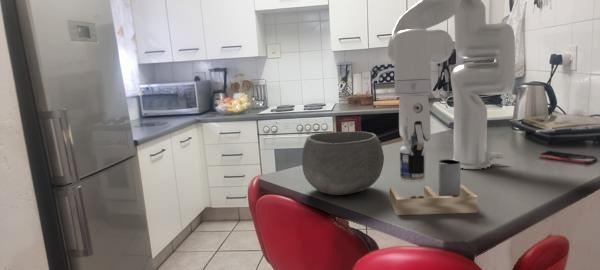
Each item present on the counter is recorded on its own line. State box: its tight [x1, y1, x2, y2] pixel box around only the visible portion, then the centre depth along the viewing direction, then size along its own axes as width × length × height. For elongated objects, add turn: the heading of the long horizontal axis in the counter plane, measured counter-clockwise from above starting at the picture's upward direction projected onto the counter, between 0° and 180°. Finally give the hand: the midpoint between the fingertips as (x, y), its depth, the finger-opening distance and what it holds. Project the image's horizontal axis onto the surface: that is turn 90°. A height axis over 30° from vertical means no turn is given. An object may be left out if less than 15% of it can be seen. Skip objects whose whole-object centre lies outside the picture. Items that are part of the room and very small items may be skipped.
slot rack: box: [389, 184, 479, 216], centre depth 90 cm, size 17×9×4 cm, turn 87°
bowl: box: [301, 131, 385, 196], centre depth 103 cm, size 21×21×15 cm
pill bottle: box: [399, 136, 426, 184], centre depth 89 cm, size 5×5×10 cm
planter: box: [438, 158, 461, 196], centre depth 89 cm, size 4×4×10 cm
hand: (412, 169), depth 89 cm, fingers closed on pill bottle, 5 cm apart
